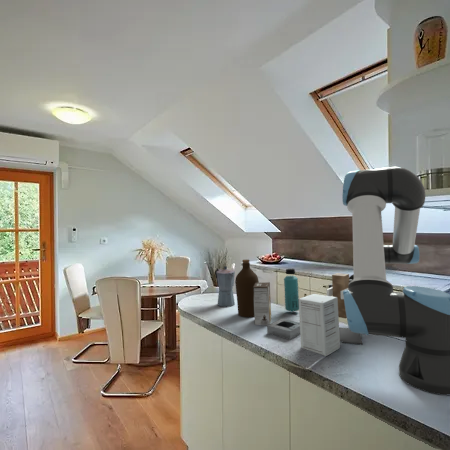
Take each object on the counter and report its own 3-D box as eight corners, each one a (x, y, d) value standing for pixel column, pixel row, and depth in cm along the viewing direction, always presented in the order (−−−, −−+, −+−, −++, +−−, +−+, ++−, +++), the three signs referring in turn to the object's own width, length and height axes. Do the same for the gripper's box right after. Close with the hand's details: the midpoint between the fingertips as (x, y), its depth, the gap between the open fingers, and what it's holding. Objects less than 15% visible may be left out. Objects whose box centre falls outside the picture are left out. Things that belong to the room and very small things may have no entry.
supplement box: (341, 348, 104) (339, 297, 104) (326, 357, 98) (323, 303, 97) (315, 340, 111) (313, 292, 111) (299, 349, 105) (297, 298, 105)
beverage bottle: (292, 315, 140) (290, 270, 140) (281, 312, 146) (280, 269, 145) (302, 312, 144) (300, 268, 143) (292, 309, 149) (290, 267, 149)
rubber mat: (362, 344, 106) (362, 342, 106) (325, 341, 110) (324, 340, 110) (359, 330, 119) (359, 328, 119) (325, 328, 123) (325, 326, 123)
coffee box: (256, 319, 138) (255, 282, 138) (271, 319, 137) (270, 282, 136) (254, 326, 129) (252, 286, 129) (270, 326, 128) (268, 286, 127)
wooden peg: (350, 315, 115) (349, 274, 115) (345, 318, 112) (343, 276, 111) (339, 313, 118) (337, 273, 118) (333, 316, 115) (331, 275, 114)
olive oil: (249, 319, 138) (246, 262, 137) (232, 315, 145) (229, 260, 145) (264, 313, 145) (262, 259, 145) (247, 309, 153) (245, 257, 152)
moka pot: (228, 309, 155) (226, 268, 154) (208, 304, 166) (206, 266, 166) (242, 305, 161) (240, 265, 161) (222, 300, 173) (220, 263, 172)
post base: (304, 332, 119) (304, 323, 119) (290, 340, 112) (290, 331, 112) (282, 327, 126) (282, 318, 126) (267, 334, 119) (266, 325, 119)
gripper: (383, 294, 122) (360, 309, 105) (339, 288, 134) (312, 301, 117) (383, 274, 121) (359, 286, 105) (338, 270, 133) (311, 281, 117)
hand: (334, 294), depth 111 cm, fingers closed on wooden peg, 4 cm apart
